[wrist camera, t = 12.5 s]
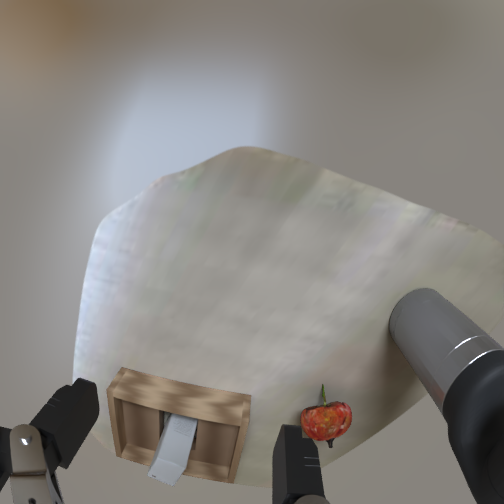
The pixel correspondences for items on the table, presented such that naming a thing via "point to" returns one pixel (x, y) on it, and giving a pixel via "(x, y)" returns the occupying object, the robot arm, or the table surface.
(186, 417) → the skincare box
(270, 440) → the table surface
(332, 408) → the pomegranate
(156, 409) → the crate
